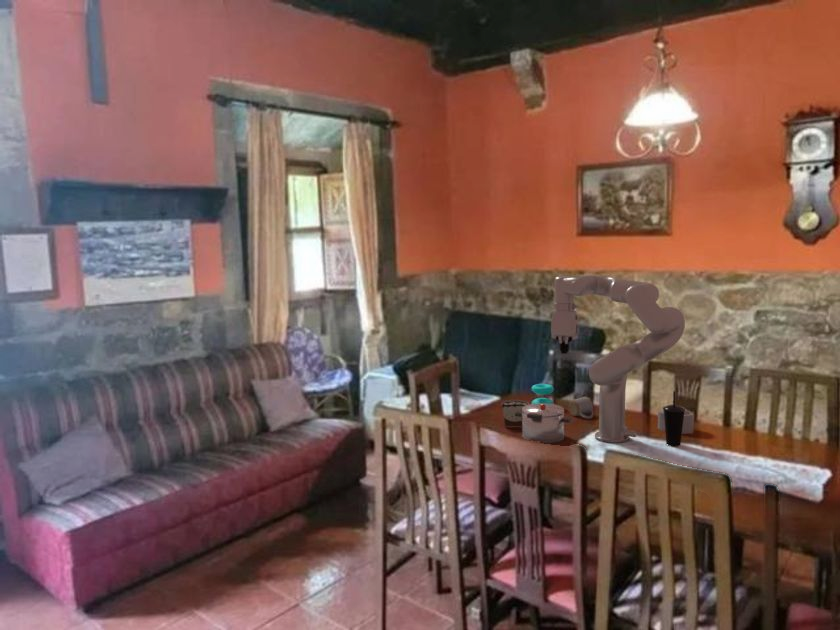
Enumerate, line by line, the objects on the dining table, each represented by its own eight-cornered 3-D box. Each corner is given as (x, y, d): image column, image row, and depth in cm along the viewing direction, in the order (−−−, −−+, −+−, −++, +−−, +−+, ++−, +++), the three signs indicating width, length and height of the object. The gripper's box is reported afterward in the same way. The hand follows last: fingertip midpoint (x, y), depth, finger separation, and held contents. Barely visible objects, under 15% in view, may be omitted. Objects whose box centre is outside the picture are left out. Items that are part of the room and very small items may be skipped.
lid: (569, 408, 258) (569, 402, 258) (553, 421, 243) (553, 413, 243) (530, 404, 267) (530, 398, 266) (513, 416, 251) (513, 409, 251)
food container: (530, 422, 277) (529, 399, 276) (531, 427, 271) (530, 403, 270) (500, 422, 278) (500, 399, 277) (500, 427, 272) (500, 403, 271)
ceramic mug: (566, 414, 288) (567, 397, 287) (581, 411, 292) (581, 394, 290) (583, 420, 278) (583, 403, 277) (598, 417, 282) (598, 400, 281)
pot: (577, 435, 258) (577, 410, 257) (563, 446, 245) (563, 420, 243) (524, 428, 269) (524, 404, 268) (508, 438, 256) (508, 413, 255)
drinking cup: (671, 448, 239) (672, 394, 237) (658, 442, 246) (658, 390, 244) (689, 446, 241) (690, 392, 239) (675, 440, 248) (676, 388, 246)
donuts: (529, 383, 305) (551, 382, 306) (529, 404, 307) (551, 403, 307) (533, 388, 296) (555, 387, 296) (533, 410, 297) (556, 409, 297)
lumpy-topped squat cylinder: (668, 423, 270) (669, 403, 269) (699, 430, 260) (699, 409, 259) (654, 429, 264) (654, 407, 263) (685, 436, 254) (685, 414, 253)
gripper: (585, 307, 260) (585, 352, 263) (549, 305, 268) (549, 350, 270) (580, 309, 254) (580, 356, 256) (543, 307, 262) (543, 353, 264)
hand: (564, 353), depth 263 cm, fingers closed
